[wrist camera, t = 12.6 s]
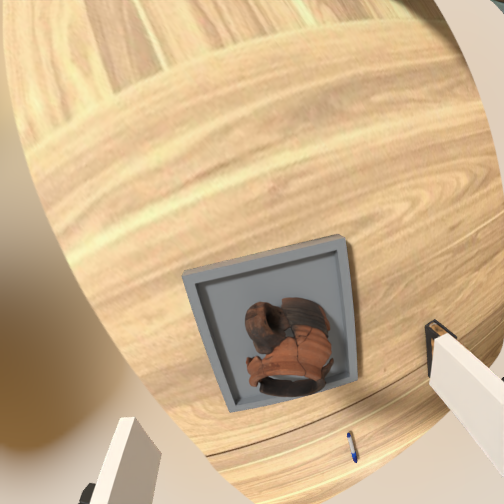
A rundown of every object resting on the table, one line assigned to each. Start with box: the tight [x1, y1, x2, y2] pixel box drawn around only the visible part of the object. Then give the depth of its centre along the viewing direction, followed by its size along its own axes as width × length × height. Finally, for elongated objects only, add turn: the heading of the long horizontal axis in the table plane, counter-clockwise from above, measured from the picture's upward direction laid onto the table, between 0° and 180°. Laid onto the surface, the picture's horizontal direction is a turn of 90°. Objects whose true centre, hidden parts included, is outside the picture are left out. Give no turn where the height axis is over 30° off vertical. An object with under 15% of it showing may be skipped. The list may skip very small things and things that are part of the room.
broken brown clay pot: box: [245, 297, 334, 397], centre depth 28 cm, size 12×10×8 cm
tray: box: [182, 234, 358, 413], centre depth 31 cm, size 16×18×2 cm
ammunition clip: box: [425, 319, 469, 378], centre depth 29 cm, size 11×2×12 cm, turn 23°
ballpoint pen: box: [347, 433, 357, 463], centre depth 38 cm, size 10×1×1 cm, turn 22°
